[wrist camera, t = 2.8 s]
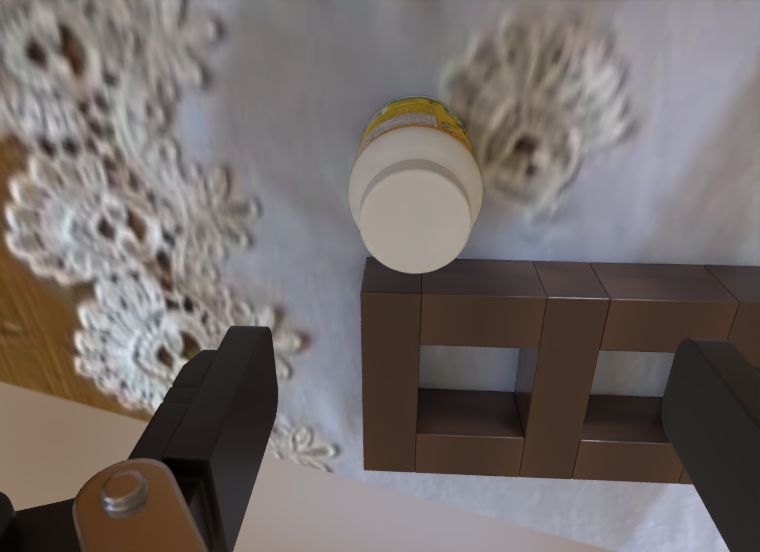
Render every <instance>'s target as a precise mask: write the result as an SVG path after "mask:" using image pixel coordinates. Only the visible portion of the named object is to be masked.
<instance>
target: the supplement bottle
mask: <svg viewBox="0 0 760 552" xmlns="http://www.w3.org/2000/svg"><path fill="white" fill-rule="evenodd" d="M482 198H483V185H482V179H481V174H480V171H479V167H478V164H477V162H476V159H475V155H474V152H473V149H472V146H471V143H470V140H469V136H468V134H467V131H466V129H465V127H464V125H463V123H462V122H461V120H460V119H459V117H458V116H457V115H456V114H455V113H454V112H453V111H452V110H451V109H450V108H449V107H447V106H446V105H445V104H443V103H442V102H440V101H438V100H436V99H434V98H431V97H426V96H406V97H401V98H398V99H395V100H393V101H391V102H389V103H387V104H386V105H384V106H383V107H382V108H380V109H379V110H378V111H377V112H376V113H375V114H374V115H373V116H372V118H371V119H370V121H369V122H368V124H367V126H366V128H365V130H364V133H363V135H362V138H361V141H360V145H359V148H358V152H357V155H356V157H355V161H354V164H353V167H352V170H351V174H350V178H349V184H348V200H349V206H350V210H351V213H352V216H353V218H354V220H355V223H356V224H357V226H358V228H359V229H360V234H361V237H362V239H363V242H364V244H365V246H366V247H367V249H368V250H369V252H370V253H371V254H372V255H373V256H374V257H375V258H376V259H377V260H378V261H379V262H381V263H382V264H384V265H385V266H387V267H389V268H391V269H394V270H397V271H400V272H404V273H411V274H416V273H426V272H431V271H434V270H437V269H439V268H441V267H443V266H445V265H447V264H449V263H450V262H451V261H453V260H454V259H455V258H456V257H457V256H458V255H459V254H460V253H461V251H462V250H463V248H464V247H465V245H466V244H467V241H468V239H469V236H470V232H471V228H472V227H473V225H474V224H475V222H476V220H477V217H478V215H479V212H480V209H481V205H482Z"/></svg>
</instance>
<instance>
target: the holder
mask: <svg viewBox="0 0 760 552" xmlns="http://www.w3.org/2000/svg"><path fill="white" fill-rule="evenodd" d="M360 298H361V351H362V403H363V456H364V470H372V471H395V472H416V473H437V474H460V475H483V476H506V477H532V478H555V479H571V478H572V479H582V480H605V481H628V482H651V483H674V484H677V483H679V484H693V483H692V481H691V479H690V477H689V476H688V474H687V472H686V470H685V468H684V466H683V465H682V463H681V461H680V459H679V457H678V455H677V454H676V452H675V450H674V448H673V446H672V444H671V443H670V441H669V439H668V437H667V435H666V433H665V431H664V428H663V424H662V417H661V405H662V400H663V398H651V397H623V396H596V395H589V394H590V390H591V385H592V380H593V376H594V371H595V367H596V362H597V357H598V353H599V349H600V350H608V351H639V352H670V353H676V351H677V348H678V345H679V343H680V342H681V341H682V340H683V339H685V338H692V339H726V340H729V341H731V342H732V343H733V344H734V345H735V346H736V348H737V349H738V350H739V351H740V352H741V353H742V355H743V356H744V357H745V358H746V359H747V360H748V361H749V363H750V364H751V365H752V366H759V367H760V267H750V266H709V265H704V266H702V265H669V264H628V263H587V262H546V261H533V262H532V261H512V260H471V259H454V260H453V261H451V262H450V263H449V264H447V265H445V266H443V267H441V268H439V269H437V270H434V271H431V272H426V273H416V274H411V273H404V272H400V271H397V270H394V269H391V268H389V267H387V266H385V265H384V264H382V263H381V262H379V261H378V260H377V259H376V258H375V257H367V259H366V264H365V270H364V275H363V281H362V287H361V292H360ZM420 345H445V346H477V347H508V348H520V355H519V362H518V369H517V376H516V384H515V391H514V392H491V391H464V390H436V389H418V379H419V353H420Z"/></svg>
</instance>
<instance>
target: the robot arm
mask: <svg viewBox="0 0 760 552" xmlns="http://www.w3.org/2000/svg"><path fill="white" fill-rule="evenodd" d="M277 405H278V385H277V376H276V367H275V359H274V350H273V341H272V334H271V330H270V328H269V327H262V326H231V327H230V328H229V329H228V331H227V333H226V335H225V337H224V338H223V340H222V342H221V344H220V346H219V348H218V350H203V351H201V352H200V353H199V354H197V355H196V356H195V357H194V358H192V359H191V360H190V361H189V362H187V363H186V364H185V365H184V366H183V367H182V369H181V371H180V372H179V374H178V376H177V377H176V379H175V381H174V382H173V387H170V389H169V391H168V392H167V394H166V396H165V397H164V401H163V403H161V404H160V406H159V407H158V409H157V411H156V412H155V414H154V416H153V417H152V419H151V421H150V422H149V424H148V426H147V428H146V429H145V431H144V433H143V434H142V436H141V438H140V439H139V441H138V443H137V444H136V446H135V448H134V449H133V451H132V453H131V454H130V456H129V458H128V459H127V460H126V461H122V462H119V463H116V464H113V465H111V466H109V467H107V468H105V469H103V470H102V471H100V472H98V473H97V474H96V475H94V476H93V477H92V478H91V479H89V480H88V481H87V482H86V483H85V484H84V486H83V487H82V488H81V489H80V491H79V492H78V494H77V495H76V497H75V498H73V499H69V500H66V501H61V502H56V503H52V504H47V505H43V506H38V507H34V508H29V509H24V510H20V511H14V508H13V506H12V504H11V501H10V500H9V498H8V497H7V496H6V495H5V494H4V493H2V492H0V552H233V550H234V547H235V543H236V540H237V537H238V534H239V531H240V527H241V524H242V521H243V518H244V515H245V512H246V509H247V506H248V503H249V499H250V496H251V493H252V490H253V487H254V484H255V481H256V478H257V474H258V471H259V468H260V465H261V462H262V458H263V456H264V452H265V449H266V446H267V443H268V440H269V437H270V434H271V430H272V427H273V424H274V421H275V417H276V412H277ZM661 417H662V424H663V428H664V431H665V433H666V435H667V437H668V439H669V441H670V443H671V444H672V446H673V448H674V450H675V452H676V454H677V455H678V457H679V459H680V461H681V463H682V465H683V466H684V468H685V470H686V472H687V474H688V476H689V477H690V479H691V481H692V483H693V485H694V487H695V488H696V490H697V492H698V494H699V496H700V498H701V499H702V501H703V503H704V505H705V507H706V509H707V510H708V512H709V514H710V516H711V518H712V520H713V521H714V523H715V525H716V527H717V529H718V531H719V532H720V534H721V536H722V538H723V540H724V542H725V543H726V545H727V547H728V549H729V551H730V552H760V367H759V366H752V365H751V364H750V363H749V361H748V360H747V359H746V358H745V357H744V356H743V355H742V353H741V352H740V351H739V350H738V349H737V348H736V346H735V345H734V344H733V343H732V342H731V341H729V340H726V339H692V338H685V339H683V340H682V341H681V342H680V343H679V345H678V348H677V351H676V354H675V358H674V361H673V365H672V368H671V372H670V375H669V379H668V382H667V386H666V389H665V393H664V396H663V400H662V405H661Z"/></svg>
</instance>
